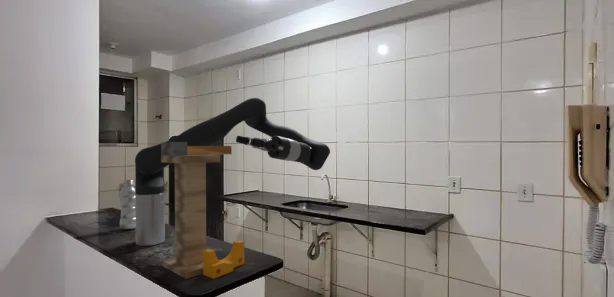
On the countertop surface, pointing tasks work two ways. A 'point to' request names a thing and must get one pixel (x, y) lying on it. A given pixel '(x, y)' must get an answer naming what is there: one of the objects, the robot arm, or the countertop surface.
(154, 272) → the countertop surface
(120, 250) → the countertop surface
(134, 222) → the plastic bottle
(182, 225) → the stand
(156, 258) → the countertop surface
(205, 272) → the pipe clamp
